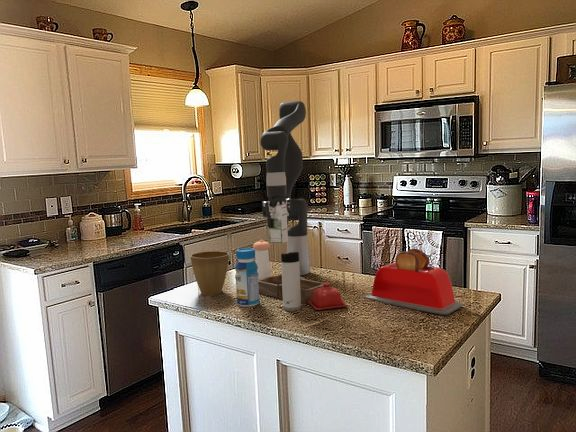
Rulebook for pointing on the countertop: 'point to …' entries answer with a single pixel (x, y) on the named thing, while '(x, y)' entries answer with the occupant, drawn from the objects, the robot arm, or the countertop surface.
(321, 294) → the butter dish
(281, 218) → the syrup box
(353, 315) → the countertop surface
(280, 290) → the wooden tray
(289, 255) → the travel mug
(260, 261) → the salt shaker
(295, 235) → the robot arm
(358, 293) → the countertop surface
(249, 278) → the beverage bottle
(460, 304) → the toaster
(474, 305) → the countertop surface
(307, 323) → the countertop surface
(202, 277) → the plant pot
